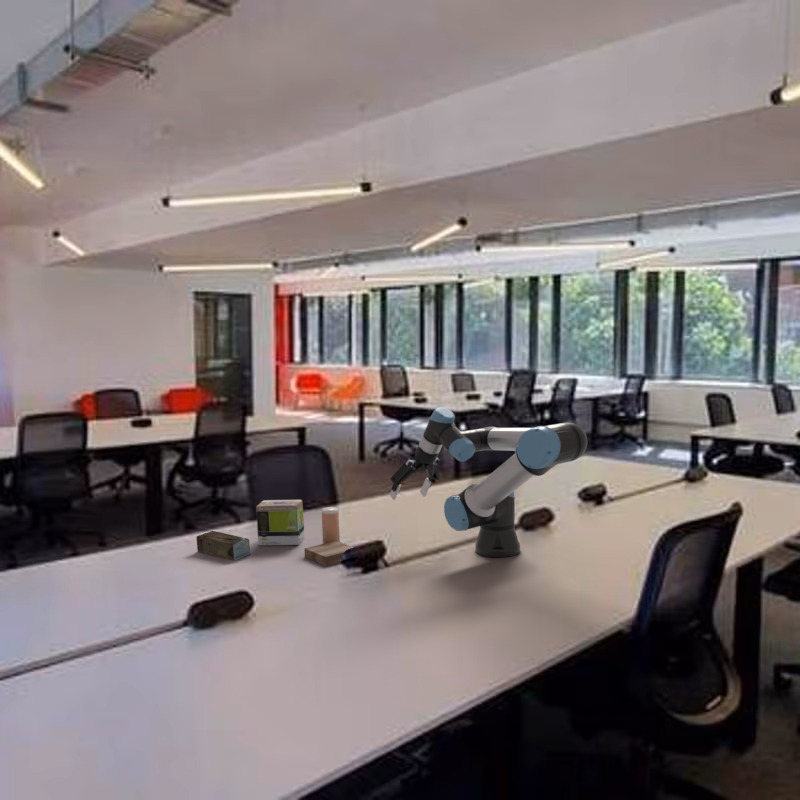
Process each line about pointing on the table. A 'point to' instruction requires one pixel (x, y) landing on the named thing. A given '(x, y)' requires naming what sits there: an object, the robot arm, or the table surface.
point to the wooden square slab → (326, 552)
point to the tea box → (280, 522)
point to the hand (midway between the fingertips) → (407, 495)
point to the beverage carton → (223, 545)
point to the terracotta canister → (330, 524)
